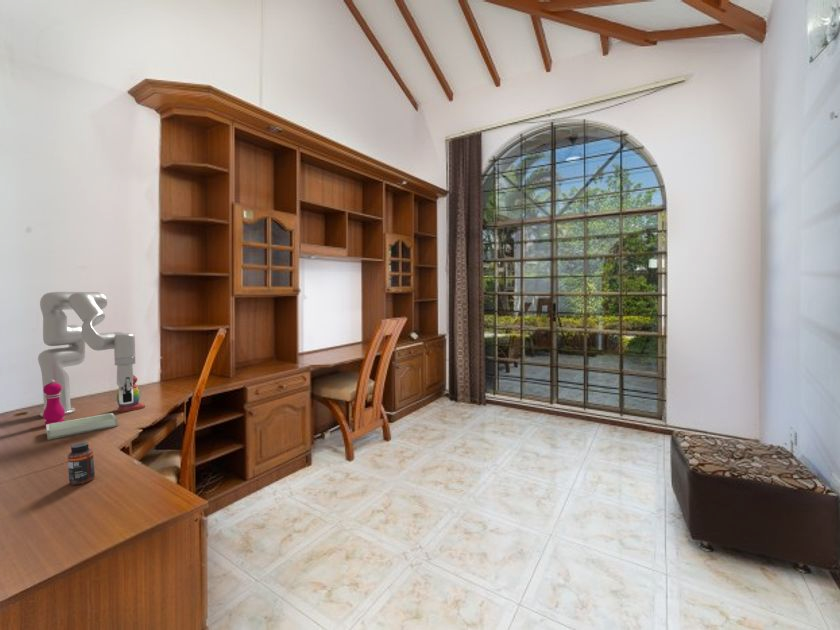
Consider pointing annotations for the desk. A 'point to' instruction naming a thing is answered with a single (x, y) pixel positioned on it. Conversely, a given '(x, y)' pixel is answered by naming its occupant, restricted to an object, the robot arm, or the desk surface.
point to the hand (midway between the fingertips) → (126, 400)
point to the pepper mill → (53, 403)
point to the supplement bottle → (80, 464)
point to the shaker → (122, 396)
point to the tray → (80, 426)
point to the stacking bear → (136, 396)
